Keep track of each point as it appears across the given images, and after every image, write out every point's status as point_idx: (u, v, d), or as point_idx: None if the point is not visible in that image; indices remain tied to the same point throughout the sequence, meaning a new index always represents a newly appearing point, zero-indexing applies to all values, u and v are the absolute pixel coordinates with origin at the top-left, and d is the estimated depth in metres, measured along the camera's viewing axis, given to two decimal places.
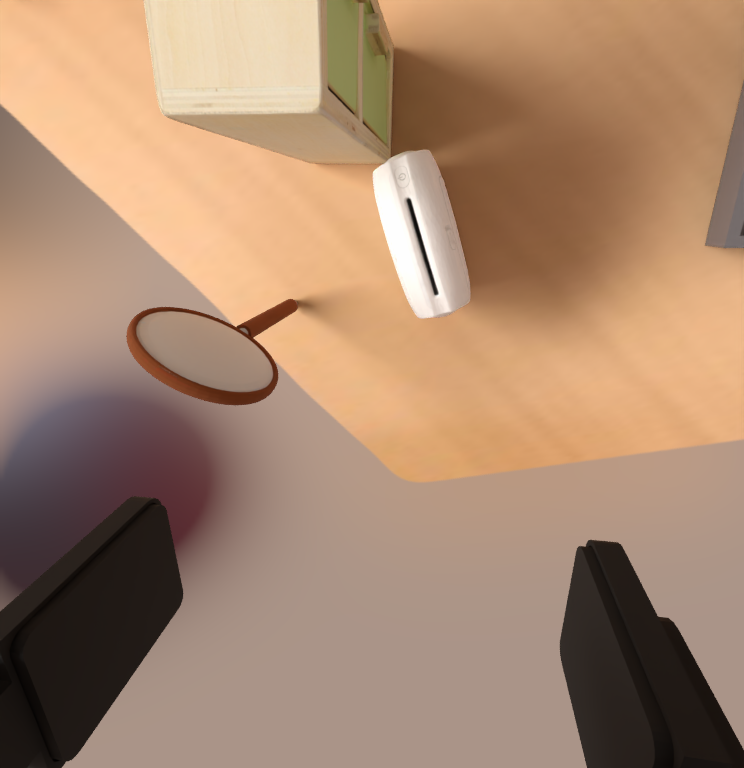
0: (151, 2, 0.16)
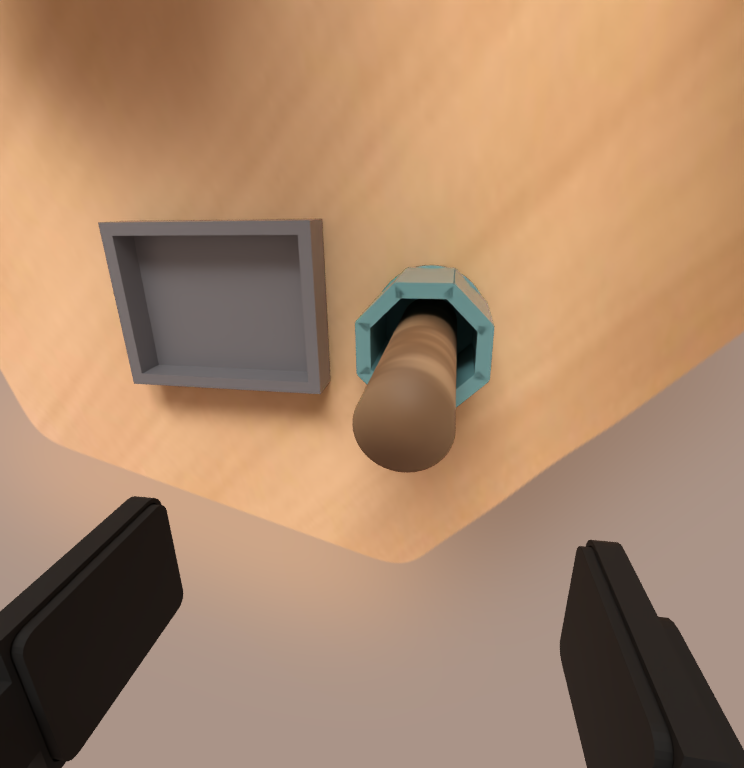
0: None
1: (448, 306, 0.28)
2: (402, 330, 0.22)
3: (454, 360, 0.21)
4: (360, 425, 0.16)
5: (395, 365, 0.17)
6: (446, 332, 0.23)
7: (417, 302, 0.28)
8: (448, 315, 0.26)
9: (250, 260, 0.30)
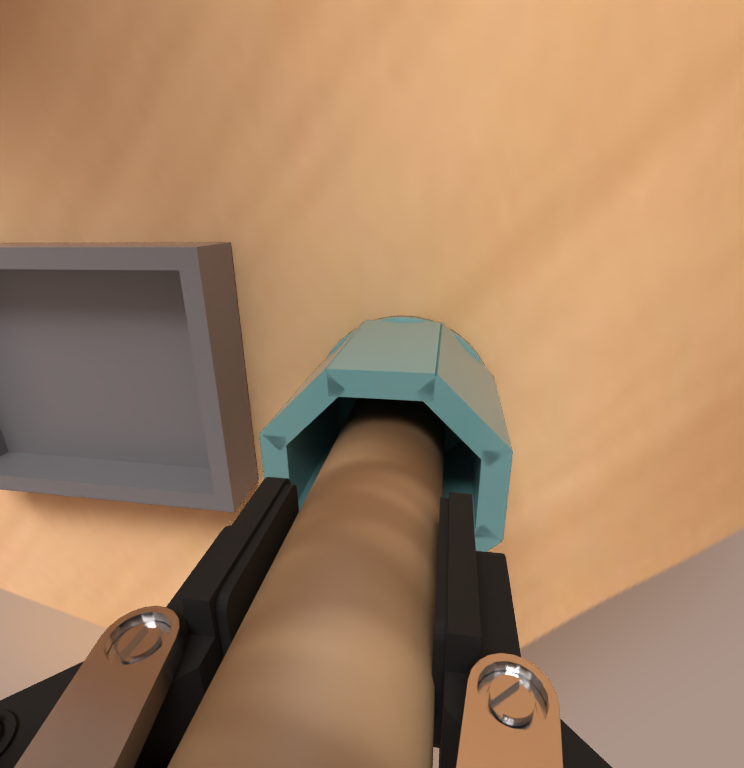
0: None
1: None
2: (335, 469, 0.11)
3: (435, 551, 0.10)
4: None
5: (258, 689, 0.06)
6: (422, 467, 0.12)
7: None
8: None
9: (123, 305, 0.19)
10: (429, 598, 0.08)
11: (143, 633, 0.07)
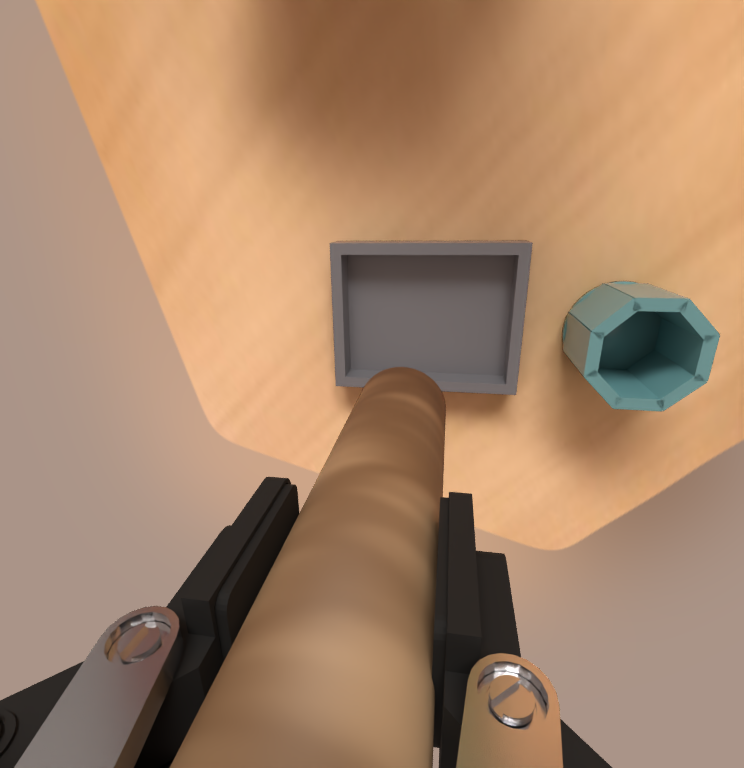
0: None
1: (431, 385, 0.17)
2: (335, 472, 0.11)
3: (435, 554, 0.10)
4: None
5: (257, 693, 0.06)
6: (422, 470, 0.12)
7: (380, 380, 0.17)
8: (429, 410, 0.15)
9: (456, 276, 0.34)
10: (429, 601, 0.08)
11: (142, 633, 0.07)
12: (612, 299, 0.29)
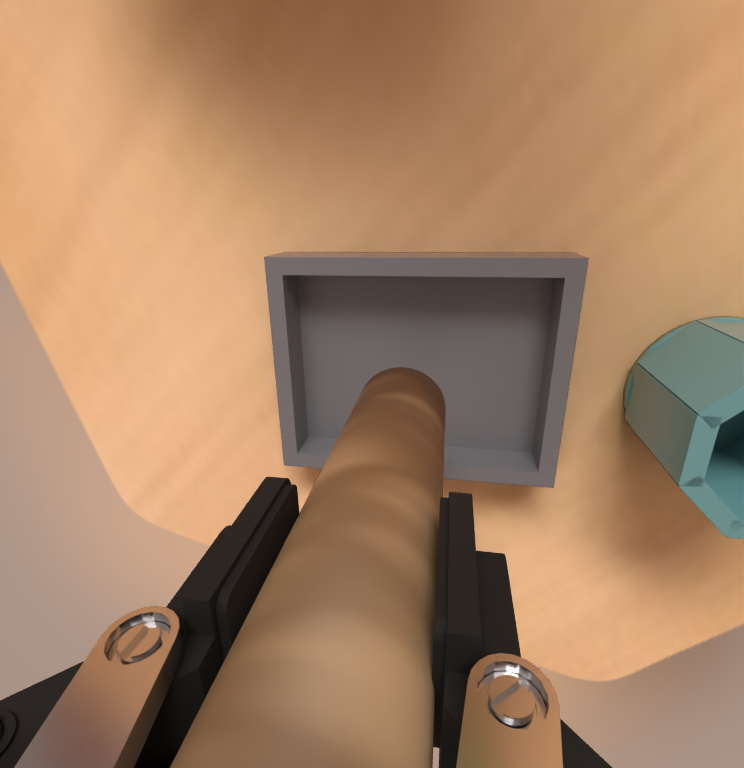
0: None
1: (431, 386, 0.17)
2: (335, 472, 0.11)
3: (435, 554, 0.10)
4: None
5: (257, 694, 0.06)
6: (422, 470, 0.12)
7: (380, 381, 0.17)
8: (429, 410, 0.15)
9: (462, 307, 0.22)
10: (429, 602, 0.08)
11: (143, 633, 0.07)
12: (727, 355, 0.17)
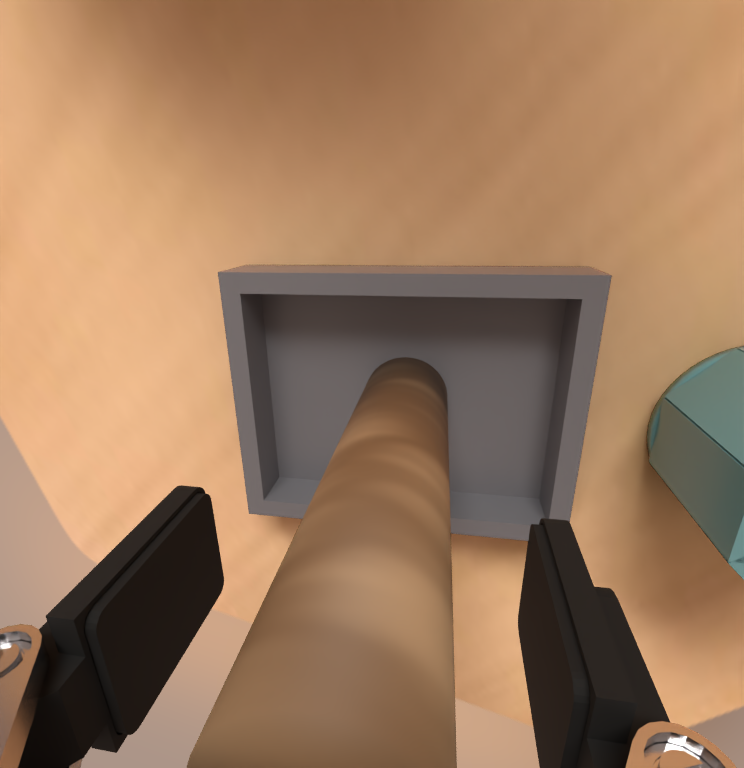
0: None
1: (434, 374, 0.18)
2: (352, 444, 0.12)
3: (447, 513, 0.11)
4: None
5: (306, 606, 0.07)
6: (431, 443, 0.13)
7: (387, 369, 0.18)
8: (434, 395, 0.16)
9: (457, 330, 0.18)
10: (444, 548, 0.09)
11: None
12: None
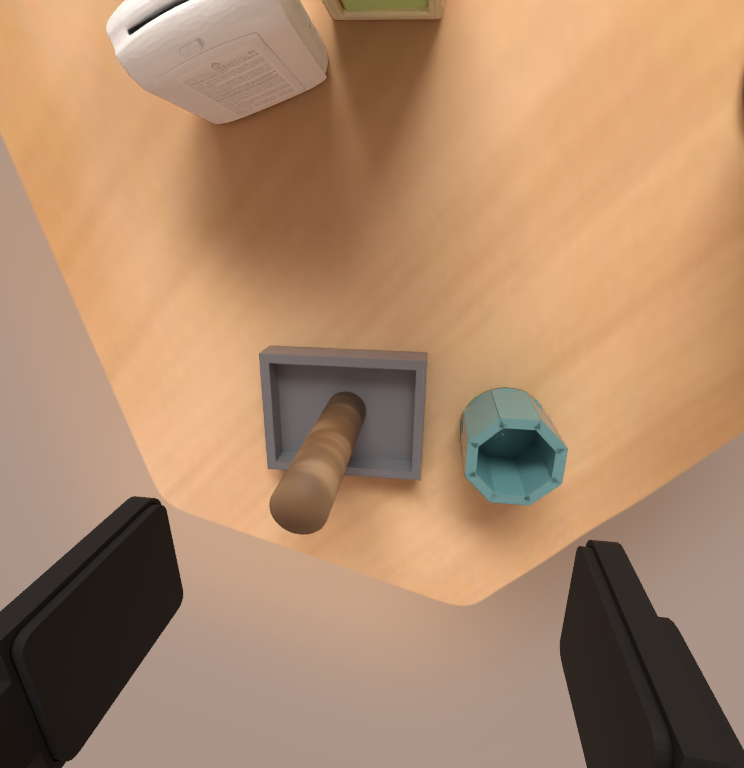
0: None
1: (358, 400, 0.40)
2: (314, 431, 0.33)
3: (345, 454, 0.32)
4: (274, 507, 0.27)
5: (296, 469, 0.28)
6: (345, 431, 0.34)
7: (335, 398, 0.39)
8: (354, 411, 0.37)
9: (369, 379, 0.40)
10: (340, 463, 0.30)
11: None
12: (488, 412, 0.35)
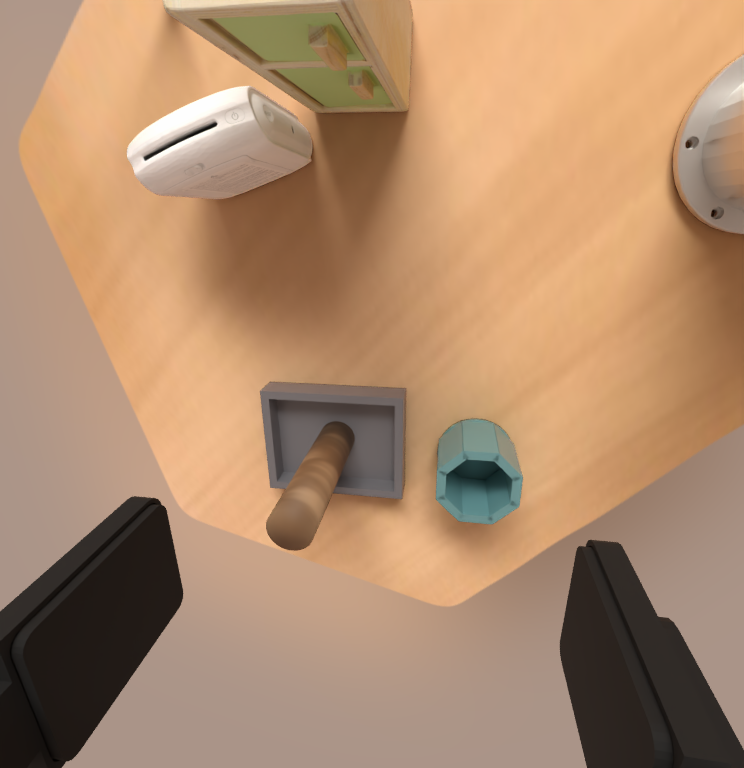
0: None
1: (347, 429, 0.45)
2: (306, 460, 0.39)
3: (331, 481, 0.38)
4: (270, 528, 0.33)
5: (288, 496, 0.34)
6: (332, 459, 0.40)
7: (327, 427, 0.45)
8: (342, 439, 0.43)
9: (356, 411, 0.45)
10: (326, 489, 0.36)
11: None
12: (456, 443, 0.41)
